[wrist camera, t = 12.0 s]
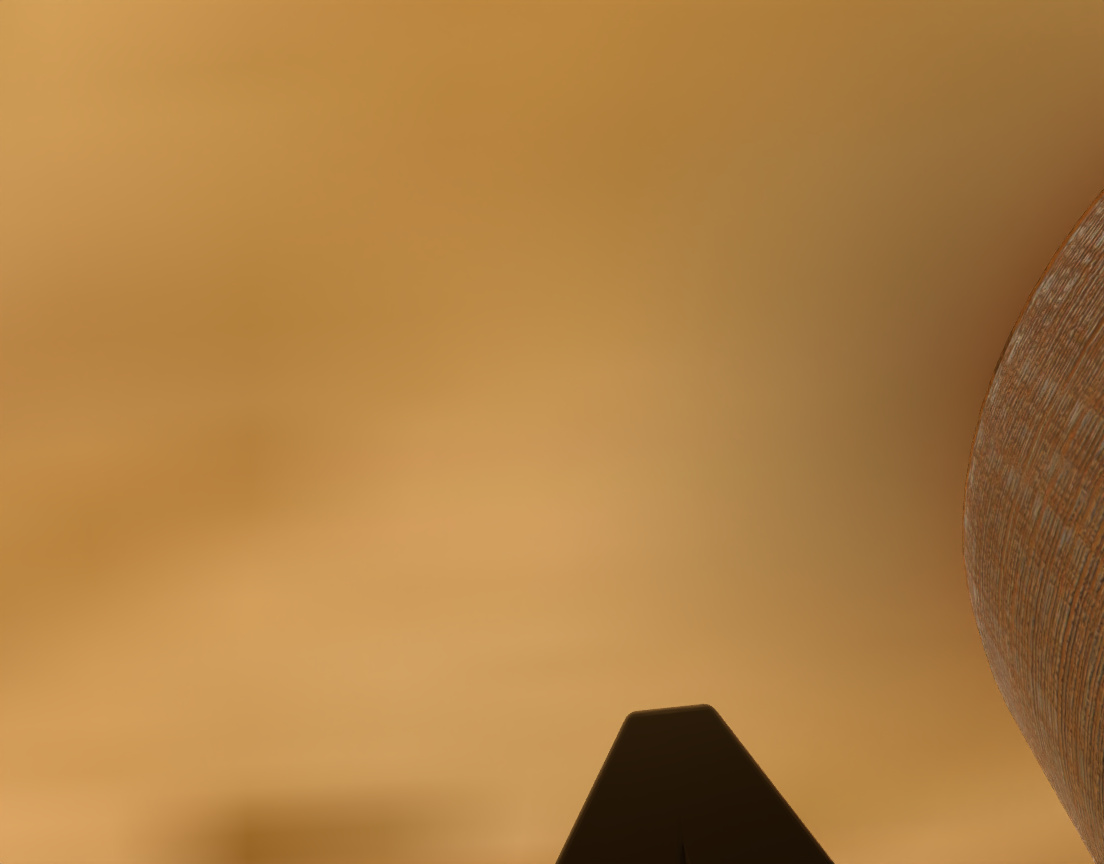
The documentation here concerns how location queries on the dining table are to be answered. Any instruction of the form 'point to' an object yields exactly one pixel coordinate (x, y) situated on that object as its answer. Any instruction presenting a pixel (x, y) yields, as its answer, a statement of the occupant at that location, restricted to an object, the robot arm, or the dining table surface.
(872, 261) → the dining table surface
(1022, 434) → the planter
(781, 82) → the dining table surface
